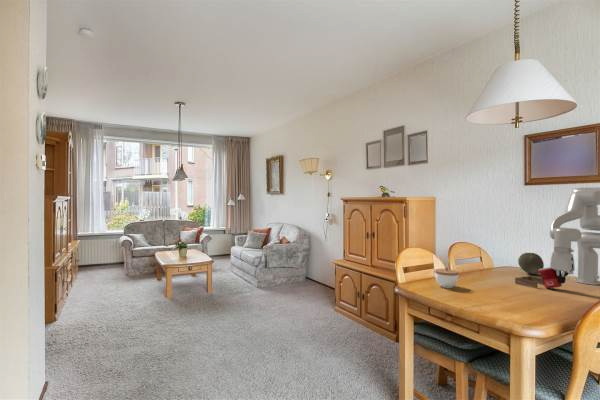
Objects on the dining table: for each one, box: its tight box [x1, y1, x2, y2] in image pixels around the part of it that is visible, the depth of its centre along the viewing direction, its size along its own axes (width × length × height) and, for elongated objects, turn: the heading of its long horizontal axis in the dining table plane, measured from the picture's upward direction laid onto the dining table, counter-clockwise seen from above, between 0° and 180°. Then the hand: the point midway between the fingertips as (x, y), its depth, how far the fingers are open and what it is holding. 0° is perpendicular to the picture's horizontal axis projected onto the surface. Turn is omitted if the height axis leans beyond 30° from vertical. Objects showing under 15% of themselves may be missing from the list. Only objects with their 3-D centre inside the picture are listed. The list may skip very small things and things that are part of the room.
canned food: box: [539, 266, 563, 289], centre depth 191 cm, size 8×8×11 cm
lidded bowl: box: [434, 266, 459, 289], centre depth 193 cm, size 13×13×11 cm
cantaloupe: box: [517, 252, 545, 276], centre depth 228 cm, size 14×14×15 cm
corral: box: [514, 275, 544, 289], centre depth 200 cm, size 14×12×4 cm
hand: (561, 283), depth 185 cm, fingers closed
